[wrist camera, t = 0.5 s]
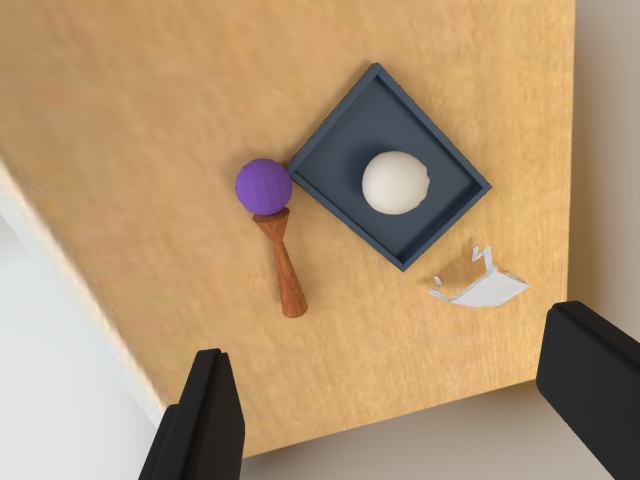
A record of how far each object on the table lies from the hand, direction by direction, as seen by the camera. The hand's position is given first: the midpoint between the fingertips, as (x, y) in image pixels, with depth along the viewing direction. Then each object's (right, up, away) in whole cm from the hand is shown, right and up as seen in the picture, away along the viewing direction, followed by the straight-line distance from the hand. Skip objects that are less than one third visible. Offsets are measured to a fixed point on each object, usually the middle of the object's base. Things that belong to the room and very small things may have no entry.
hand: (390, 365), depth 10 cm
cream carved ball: (+6, +11, +32) cm, 34 cm away
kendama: (-7, +4, +34) cm, 35 cm away
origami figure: (+18, -1, +38) cm, 42 cm away
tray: (+6, +11, +32) cm, 34 cm away
